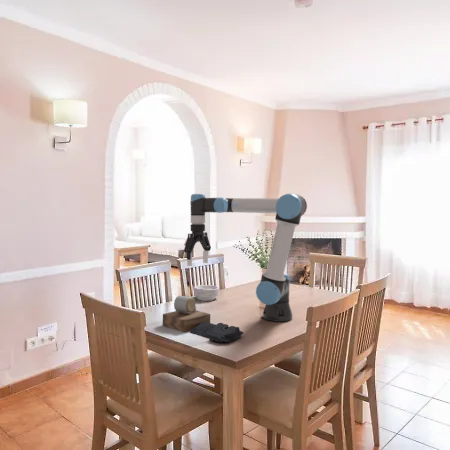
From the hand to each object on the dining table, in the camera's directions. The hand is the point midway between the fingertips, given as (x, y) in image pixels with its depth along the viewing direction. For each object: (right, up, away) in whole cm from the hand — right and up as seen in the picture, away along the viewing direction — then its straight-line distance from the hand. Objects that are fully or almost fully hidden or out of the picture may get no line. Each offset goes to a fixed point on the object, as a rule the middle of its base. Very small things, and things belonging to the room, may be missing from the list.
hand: (197, 264), depth 220 cm
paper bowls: (+3, -25, +35) cm, 43 cm away
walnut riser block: (-4, -28, -19) cm, 34 cm away
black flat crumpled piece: (+10, -29, -31) cm, 43 cm away
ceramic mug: (-3, -22, -20) cm, 30 cm away
